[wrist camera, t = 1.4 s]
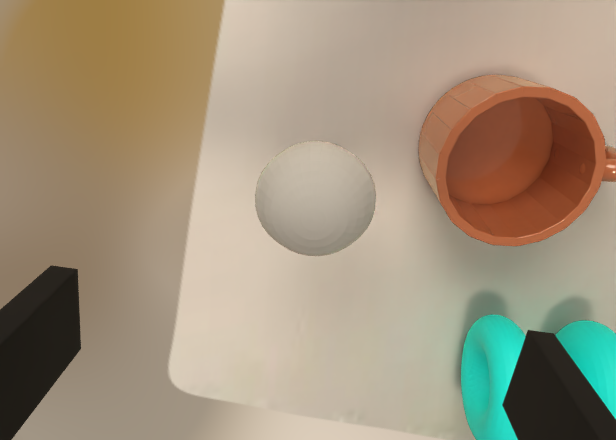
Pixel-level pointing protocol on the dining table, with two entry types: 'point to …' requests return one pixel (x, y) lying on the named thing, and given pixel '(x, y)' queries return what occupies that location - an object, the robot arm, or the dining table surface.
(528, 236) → the mug
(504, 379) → the donuts
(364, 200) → the lollipop
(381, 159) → the dining table surface
